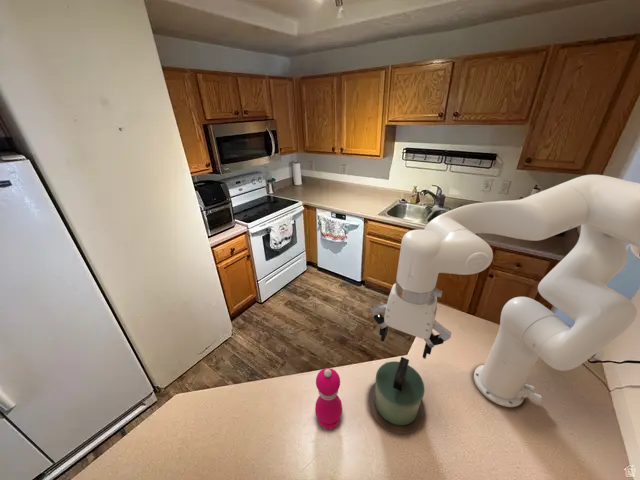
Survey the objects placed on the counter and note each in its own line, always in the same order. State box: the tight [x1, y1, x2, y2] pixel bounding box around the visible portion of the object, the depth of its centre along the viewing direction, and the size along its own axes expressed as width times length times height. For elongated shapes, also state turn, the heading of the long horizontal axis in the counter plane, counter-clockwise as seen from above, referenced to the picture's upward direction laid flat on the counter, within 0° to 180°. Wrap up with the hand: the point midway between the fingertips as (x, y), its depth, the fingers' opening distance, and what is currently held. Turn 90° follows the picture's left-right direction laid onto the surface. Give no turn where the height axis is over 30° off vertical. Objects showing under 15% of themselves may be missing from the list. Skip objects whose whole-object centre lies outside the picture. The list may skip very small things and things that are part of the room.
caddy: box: [374, 356, 425, 425], centre depth 69 cm, size 12×12×15 cm
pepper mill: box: [314, 367, 343, 430], centre depth 66 cm, size 7×7×20 cm
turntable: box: [368, 381, 425, 435], centre depth 73 cm, size 15×15×1 cm
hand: (403, 345), depth 61 cm, fingers open, 9 cm apart
